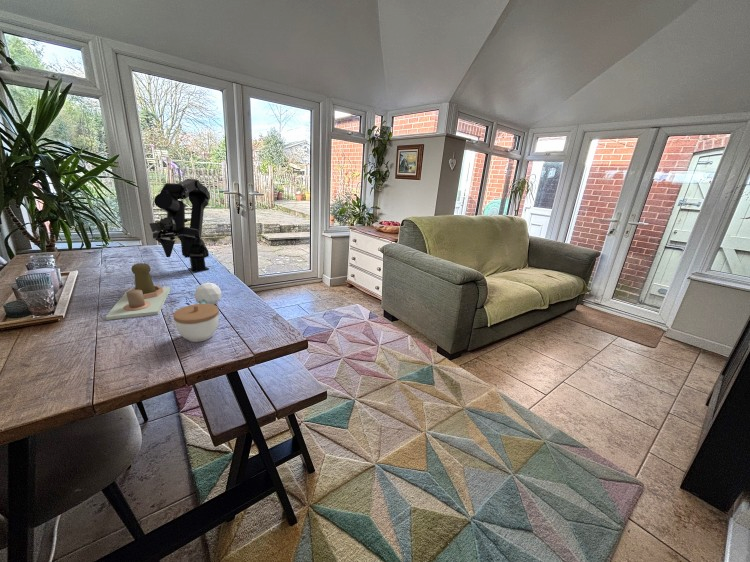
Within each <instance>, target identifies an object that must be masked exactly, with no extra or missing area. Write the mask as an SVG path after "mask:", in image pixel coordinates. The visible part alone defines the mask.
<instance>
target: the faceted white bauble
mask: <svg viewBox="0 0 750 562" xmlns="http://www.w3.org/2000/svg"><path fill="white" fill-rule="evenodd" d="M194 291H195V292H194V298H195V299H194V300H195V302H197V304H213V305H216V304H218V302H219V301H220V300H221V297H222V291H221V288H220V287H219V286H218V285H217V284H216V283H212V282H208V281H207V282H203V283H202V284H200V285H199V286H198V287H196V288H195V290H194Z"/></svg>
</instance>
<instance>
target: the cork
mask: <svg viewBox="0 0 750 562" xmlns="http://www.w3.org/2000/svg"><path fill="white" fill-rule="evenodd" d="M130 269H131V272H132V274H134V288H135V290H142V292H143V294H148V293H152V292H155V291H156V290H155V287H154V285H155V284H154V281H153V279H152V276H151V274H150V273H151V266H150V265H149V264H148V263H145V262H143V263H135V264H132V266H131V268H130Z"/></svg>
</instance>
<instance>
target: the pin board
mask: <svg viewBox="0 0 750 562" xmlns="http://www.w3.org/2000/svg"><path fill="white" fill-rule="evenodd" d="M154 287H155V290H156V291H155V292H152V293H148V294H143V292H142V290H135V287H133V288H131V289H127V290H126V292H125V293H124V294H123V296H121V297H120V299H119V300H118V301H117V302H116V304H114V306H113V307H112V308H111V309H110V311H109V312H108V313H107V314H106V316H105V320H106V321H107V320H109V321H110V320H117V319H118V320H119V319H130V318H137V317H145V316H155V315H160V313H161V311H162V308H163V306H164V304H165V302H166V299H167V298H168V296H169V293H170V292H171V290H172V289H171V286H163V287H162V286H160V285H155V284H154Z"/></svg>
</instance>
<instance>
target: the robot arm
mask: <svg viewBox="0 0 750 562" xmlns="http://www.w3.org/2000/svg"><path fill="white" fill-rule="evenodd" d="M159 192H160V193H158V194H157V195H155V196H154V197H155V198H154V199H153V200H154V205H155V206H156V207H157V208H159V209H161V210H162V211H164V212H166V217H163V218H160V221H157V222H156V221H155V222H152V223H149V228H150V230H151V232H152V238H153V239H155V241H156V242H158V243H160V244H161V246H162V249H163V252H164V254H165V257H166V258H170V257H171V255H172V252H173V250H174V246H175V238H176V237H177V238H178V240H179V241H180V246H181V253H182V254H181V255H182V256H183V257H184V258H186V259H187V258H189V262H190V267H188V270H190V271H192V272H193V273H197V272H203V271H207V270H210V268H209V267H207V266H206V260H205V259H206V258H207V257H209V256H210V254H209V253H210V252H209V249H208V247H207V246H206V245H205V244H206V243H205V241H204V239H203V238H202V235H203V232H202V231H203V221H204V210H205V208H207V206H208V205H209V201H210V200H211V195H210V191H209V189H208V188H207V187H206V186H205V185H204V184H202V183H201V182H200V180H199V179H196V178H195V179H194V178H186V179H185V180H182V181H180V182H177V183H174V182H165V184H164V185H163V187H162V188H161V189H160V191H159ZM187 198H188V201H189V202H190V203H191V213H190V221H189V222H190V223H189V224H190V225H189V227H187V226H186V223H188V219H187V218H186V207H187V206H186V204H185V203H184V201H183V200H186V199H187Z"/></svg>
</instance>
